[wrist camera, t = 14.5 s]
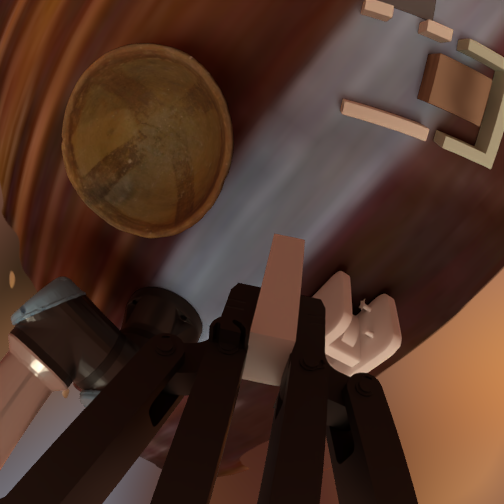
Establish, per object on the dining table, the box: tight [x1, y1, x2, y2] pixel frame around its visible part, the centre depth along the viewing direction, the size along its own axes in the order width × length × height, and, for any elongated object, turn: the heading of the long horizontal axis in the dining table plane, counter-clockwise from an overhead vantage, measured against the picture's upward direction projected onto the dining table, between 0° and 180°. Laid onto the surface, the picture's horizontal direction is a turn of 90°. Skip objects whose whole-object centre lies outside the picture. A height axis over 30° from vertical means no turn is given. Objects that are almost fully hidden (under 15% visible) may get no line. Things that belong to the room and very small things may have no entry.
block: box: [417, 53, 492, 127], centre depth 27 cm, size 7×6×4 cm
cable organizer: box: [312, 271, 402, 377], centre depth 45 cm, size 15×11×12 cm
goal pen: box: [433, 39, 504, 169], centre depth 27 cm, size 8×14×4 cm, turn 172°
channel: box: [340, 0, 453, 141], centre depth 28 cm, size 10×14×4 cm
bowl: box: [62, 43, 234, 238], centre depth 35 cm, size 22×23×10 cm
